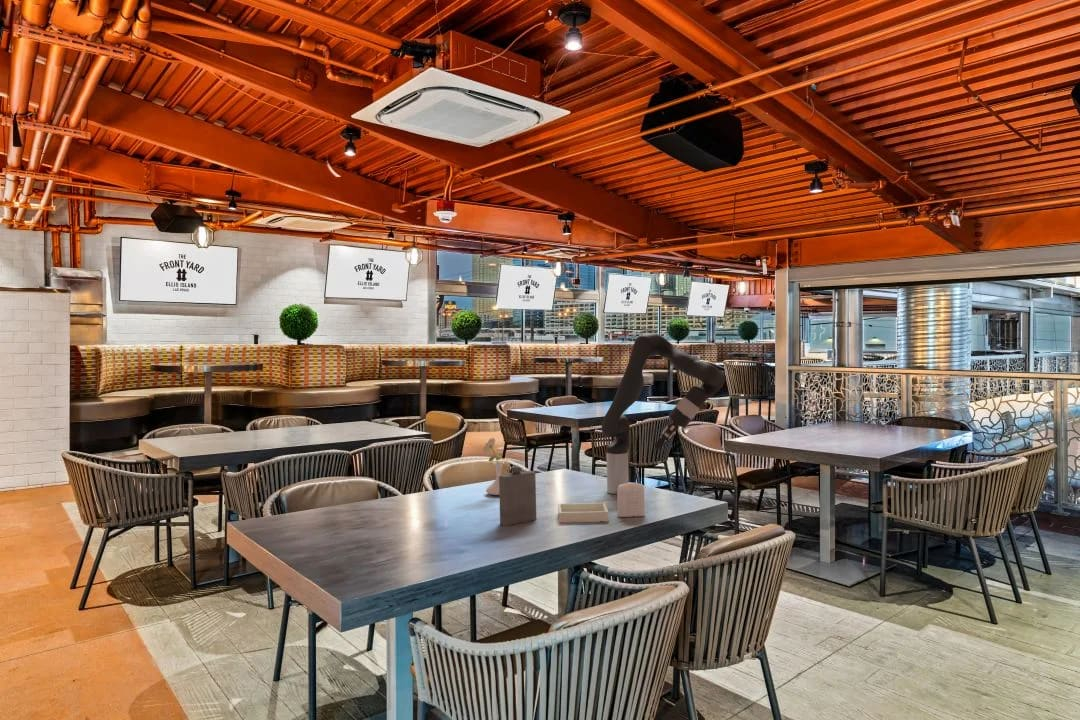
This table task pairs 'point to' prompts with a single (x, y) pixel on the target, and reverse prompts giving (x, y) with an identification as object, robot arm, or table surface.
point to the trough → (583, 512)
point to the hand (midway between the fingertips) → (656, 446)
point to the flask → (517, 496)
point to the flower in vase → (494, 487)
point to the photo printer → (630, 500)
